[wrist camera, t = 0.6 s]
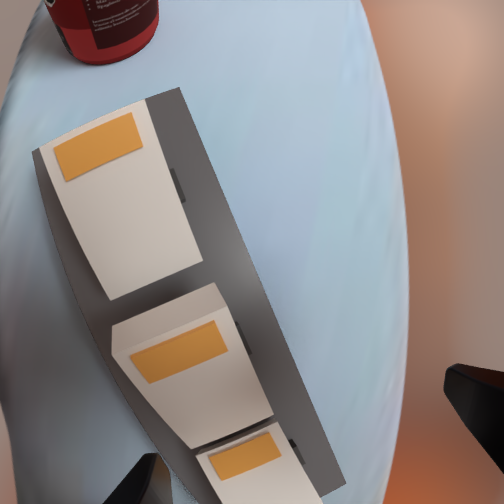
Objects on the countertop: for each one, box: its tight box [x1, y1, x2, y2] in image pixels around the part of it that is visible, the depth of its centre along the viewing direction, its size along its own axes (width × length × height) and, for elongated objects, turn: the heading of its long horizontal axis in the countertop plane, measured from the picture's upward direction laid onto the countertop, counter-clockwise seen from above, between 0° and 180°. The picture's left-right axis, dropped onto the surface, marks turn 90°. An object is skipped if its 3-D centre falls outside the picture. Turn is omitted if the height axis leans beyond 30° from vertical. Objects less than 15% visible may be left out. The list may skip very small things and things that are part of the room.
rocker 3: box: [196, 418, 323, 504], centre depth 13 cm, size 7×4×2 cm, turn 23°
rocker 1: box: [39, 99, 203, 301], centre depth 12 cm, size 7×4×2 cm, turn 23°
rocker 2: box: [112, 282, 274, 449], centre depth 12 cm, size 7×4×2 cm, turn 23°
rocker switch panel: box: [32, 87, 346, 504], centre depth 17 cm, size 30×9×5 cm, turn 23°
